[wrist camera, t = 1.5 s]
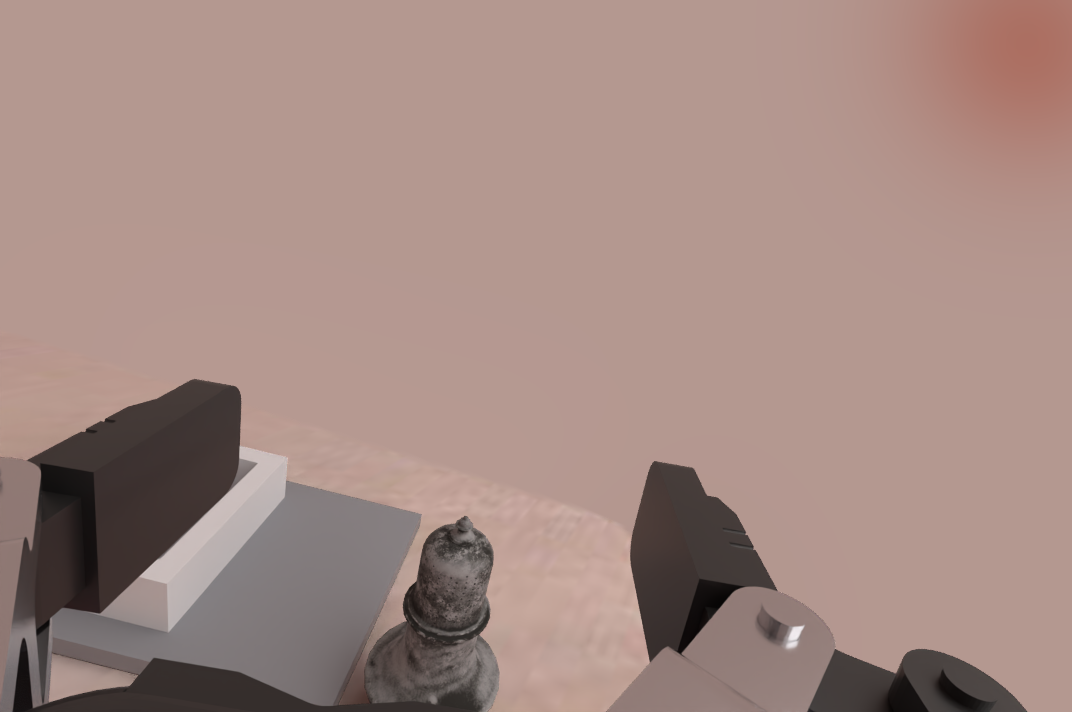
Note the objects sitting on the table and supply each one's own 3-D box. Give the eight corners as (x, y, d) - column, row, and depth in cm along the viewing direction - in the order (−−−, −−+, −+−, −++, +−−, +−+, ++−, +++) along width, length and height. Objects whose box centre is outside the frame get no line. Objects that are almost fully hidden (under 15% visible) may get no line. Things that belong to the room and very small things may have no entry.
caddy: (-98, 614, 27) (-116, 544, 25) (131, 454, 40) (128, 402, 38) (329, 723, 26) (337, 659, 25) (419, 526, 39) (428, 476, 38)
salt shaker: (404, 649, 31) (439, 455, 26) (505, 704, 29) (561, 507, 25) (327, 748, 25) (354, 526, 21) (445, 822, 24) (502, 599, 19)
